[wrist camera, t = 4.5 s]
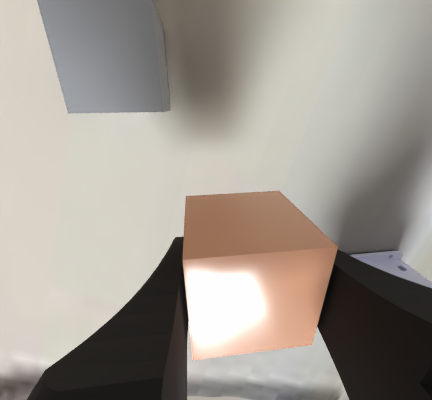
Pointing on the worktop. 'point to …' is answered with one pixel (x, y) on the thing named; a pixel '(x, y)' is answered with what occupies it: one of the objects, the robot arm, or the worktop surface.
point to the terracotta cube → (252, 273)
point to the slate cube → (108, 54)
